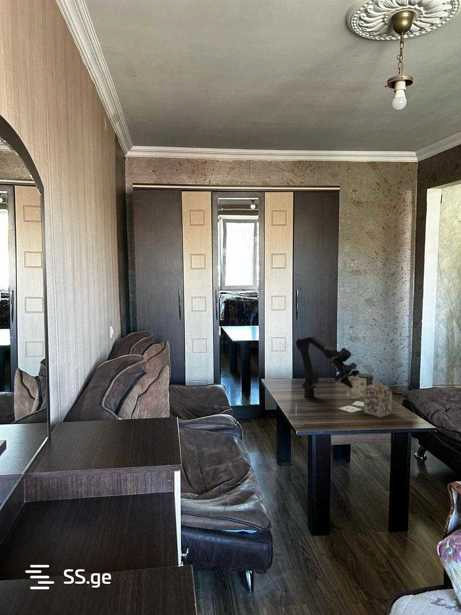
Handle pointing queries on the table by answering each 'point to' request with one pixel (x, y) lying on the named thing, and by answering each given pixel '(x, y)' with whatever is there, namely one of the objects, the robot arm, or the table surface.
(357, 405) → the coaster
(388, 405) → the decorative jar
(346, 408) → the white tile
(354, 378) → the birch block
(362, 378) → the coffee can
